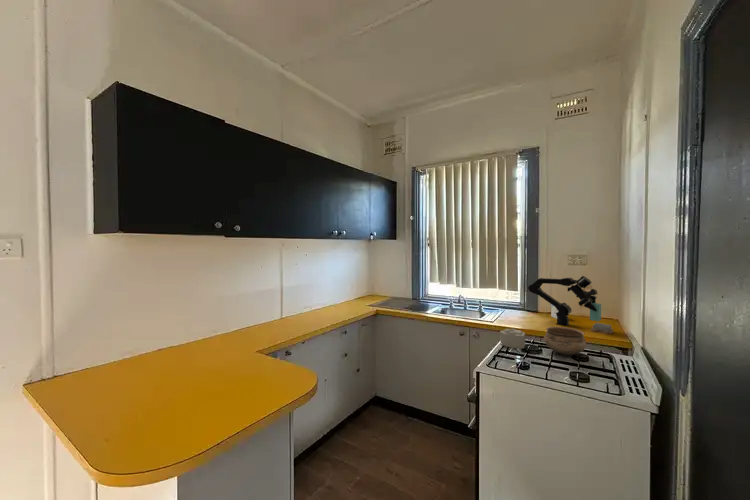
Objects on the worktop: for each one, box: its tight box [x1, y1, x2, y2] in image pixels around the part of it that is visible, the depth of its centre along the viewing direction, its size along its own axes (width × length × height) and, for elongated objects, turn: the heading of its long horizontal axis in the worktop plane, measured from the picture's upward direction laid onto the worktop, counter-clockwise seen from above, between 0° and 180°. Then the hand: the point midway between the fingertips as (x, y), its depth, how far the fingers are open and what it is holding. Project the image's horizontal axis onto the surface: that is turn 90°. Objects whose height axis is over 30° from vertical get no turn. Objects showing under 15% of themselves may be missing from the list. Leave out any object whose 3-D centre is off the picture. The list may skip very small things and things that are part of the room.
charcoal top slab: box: [592, 322, 612, 331], centre depth 206 cm, size 8×8×2 cm
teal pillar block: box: [589, 302, 602, 322], centre depth 209 cm, size 5×5×11 cm
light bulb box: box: [550, 304, 559, 320], centre depth 244 cm, size 11×7×11 cm, turn 179°
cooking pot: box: [543, 326, 587, 357], centre depth 165 cm, size 25×19×12 cm
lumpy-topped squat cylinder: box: [499, 328, 526, 349], centre depth 180 cm, size 10×13×9 cm
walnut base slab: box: [590, 327, 614, 335], centre depth 206 cm, size 10×10×2 cm
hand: (597, 310), depth 208 cm, fingers closed on teal pillar block, 5 cm apart
